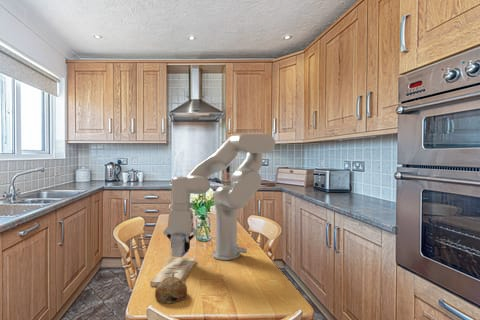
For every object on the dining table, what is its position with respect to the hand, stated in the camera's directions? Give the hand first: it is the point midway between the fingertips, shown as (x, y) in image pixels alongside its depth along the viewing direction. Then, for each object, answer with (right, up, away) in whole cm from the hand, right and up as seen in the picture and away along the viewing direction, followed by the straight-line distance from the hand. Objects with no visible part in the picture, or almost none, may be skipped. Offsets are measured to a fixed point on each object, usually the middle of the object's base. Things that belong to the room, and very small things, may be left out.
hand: (180, 250), depth 123 cm
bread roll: (+2, -7, -26) cm, 27 cm away
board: (0, -6, -8) cm, 10 cm away
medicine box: (0, -2, 0) cm, 2 cm away
